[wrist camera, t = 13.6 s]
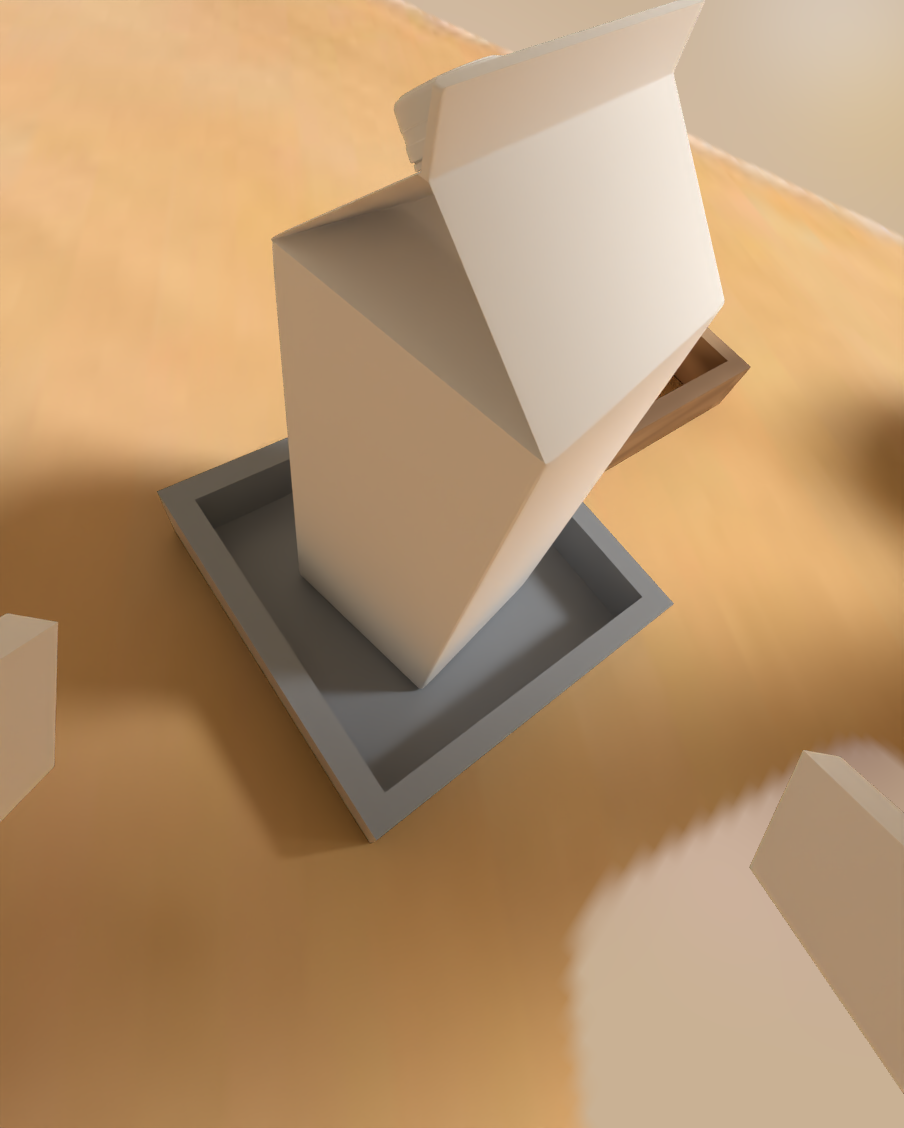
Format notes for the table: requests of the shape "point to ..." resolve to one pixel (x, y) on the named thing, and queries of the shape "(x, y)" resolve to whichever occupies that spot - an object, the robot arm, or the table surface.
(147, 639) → the table surface
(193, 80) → the table surface
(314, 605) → the tray
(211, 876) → the table surface
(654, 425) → the holder frame
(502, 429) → the milk carton
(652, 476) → the table surface
